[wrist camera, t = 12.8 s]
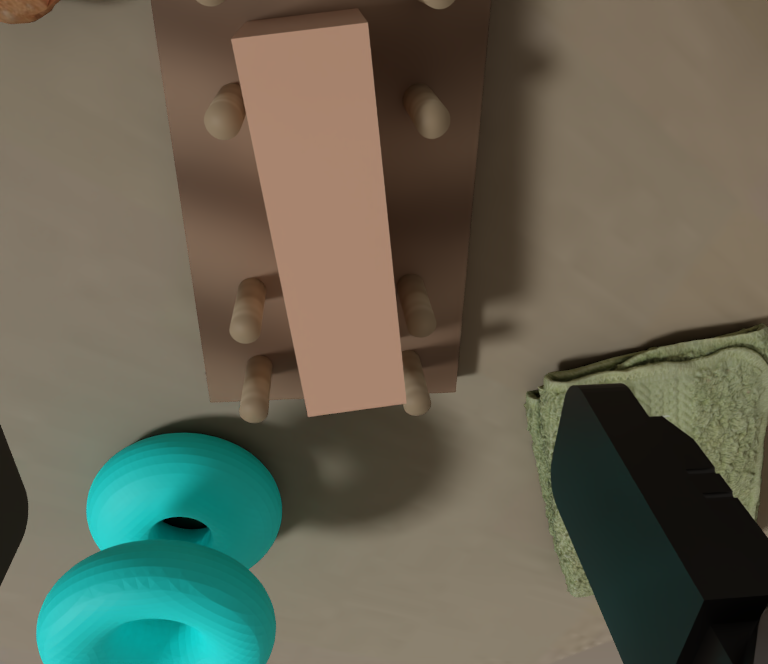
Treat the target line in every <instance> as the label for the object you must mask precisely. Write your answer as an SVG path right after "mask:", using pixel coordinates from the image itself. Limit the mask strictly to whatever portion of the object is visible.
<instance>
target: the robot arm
mask: <svg viewBox="0 0 768 664" xmlns="http://www.w3.org/2000/svg"><path fill="white" fill-rule="evenodd" d="M551 487H552V492H553V497H554V500H555V503H556V506H557V509H558V511H559V513H560V516H561V518H562V520H563V523H564V525H565V527H566V530H567V532H568V534H569V537H570V539H571V541H572V544H573V546H574V549H575V551H576V553H577V556H578V558H579V560H580V563H581V565H582V567H583V570H584V572H585V574H586V577H587V579H588V581H589V584H590V586H591V588H592V591H593V593H594V595H595V598H596V600H597V603H598V605H599V607H600V610H601V612H602V614H603V617H604V619H605V621H606V624H607V626H608V628H609V631H610V633H611V635H612V638H613V640H614V642H615V645H616V647H617V649H618V651H619V654H620V657H621V659H622V661H623V663H624V664H768V538H767V536H766V535H765V534H764V532H763V531H762V530H761V528H760V527H759V526H758V524H757V523H756V522H755V520H754V519H753V518H752V516H751V515H750V514H749V512H748V511H747V510H746V508H745V507H744V506H743V504H742V503H741V502H740V500H739V499H738V498H734V497H733V491H732V490H731V488H730V487H729V486H728V484H727V483H726V482H725V480H724V479H723V478H722V476H721V475H720V473H716V472H715V467H714V465H713V464H712V463H711V461H710V460H709V459H708V457H707V456H706V455H705V453H704V452H703V451H702V449H701V448H700V447H699V445H698V444H697V443H696V441H695V440H694V439H693V438H691V437H690V436H689V435H687V434H686V433H685V432H683V431H682V430H681V429H679V428H678V427H677V426H675V425H674V424H672V423H671V422H670V421H668V420H667V419H666V418H664V417H663V416H651V417H649V416H648V414H647V413H646V411H645V410H644V409H643V407H642V406H641V404H640V403H639V401H638V400H637V398H636V397H635V396H634V394H633V393H632V391H631V390H630V389H629V387H628V386H626V385H625V384H623V383H610V384H589V385H572V386H570V387H569V388H568V390H567V392H566V394H565V398H564V402H563V407H562V412H561V417H560V422H559V427H558V432H557V436H556V441H555V446H554V451H553V456H552V461H551ZM27 519H28V499H27V494H26V490H25V488H24V485H23V482H22V480H21V477H20V475H19V472H18V469H17V467H16V464H15V462H14V459H13V456H12V454H11V451H10V449H9V446H8V443H7V441H6V438H5V436H4V433H3V430H2V428H1V425H0V585H1V583H2V581H3V579H4V577H5V575H6V573H7V571H8V568H9V566H10V564H11V562H12V560H13V558H14V556H15V553H16V551H17V549H18V547H19V545H20V543H21V541H22V538H23V536H24V533H25V529H26V525H27Z"/></svg>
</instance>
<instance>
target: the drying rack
mask: <svg viewBox="0 0 768 664" xmlns="http://www.w3.org/2000/svg"><path fill="white" fill-rule="evenodd" d="M151 5H152V12H153V19H154V26H155V32H156V39H157V46H158V53H159V59H160V66H161V73H162V80H163V86H164V93H165V100H166V107H167V113H168V120H169V127H170V134H171V140H172V147H173V154H174V161H175V167H176V174H177V181H178V188H179V194H180V201H181V208H182V215H183V221H184V228H185V235H186V242H187V248H188V255H189V262H190V269H191V275H192V282H193V289H194V296H195V302H196V309H197V316H198V323H199V329H200V336H201V343H202V349H203V356H204V363H205V370H206V376H207V383H208V390H209V397H210V402H234V401H241V403H240V409H239V413H240V416H241V417H242V419H244V420H245V421H247V422H250V423H258V422H261V421H263V420H264V419H265V418H266V417H267V415H268V408H269V400H282V399H304V395H303V390H302V385H301V380H300V375H299V370H298V365H297V360H296V355H295V351H294V346H293V341H292V336H291V331H290V326H289V321H288V316H287V311H286V306H285V302H284V297H283V292H282V287H281V282H280V277H279V272H278V267H277V262H276V257H275V253H274V248H273V243H272V238H271V233H270V228H269V223H268V218H267V213H266V208H265V204H264V199H263V194H262V189H261V184H260V179H259V174H258V169H257V164H256V159H255V154H254V150H253V145H252V140H251V135H250V130H249V125H248V120H247V115H246V110H245V105H244V101H243V96H242V91H241V86H240V81H239V76H238V71H237V66H236V61H235V56H234V52H233V47H232V42H231V38H232V37H233V36H234V35H235V34H236V33H237V31H238V30H239V29H240V28H241V27H242V26H243V24H244V23H245V22H246V21H254V20H263V19H271V18H280V17H288V16H296V15H305V14H313V13H321V12H330V11H338V10H346V9H355V8H358V9H359V11H360V12H361V13H362V15H363V16H364V18H365V19H366V21H367V22H368V28H369V38H370V48H371V58H372V68H373V77H374V87H375V97H376V107H377V117H378V127H379V136H380V146H381V156H382V166H383V176H384V185H385V195H386V205H387V215H388V225H389V235H390V244H391V254H392V264H393V274H394V284H395V293H396V303H397V313H398V323H399V333H400V343H401V352H402V362H403V372H404V382H405V392H406V401H407V403H406V404H403V406H404V410H405V411H406V412H407V413H408V414H410V415H413V416H419V415H422V414H424V413H426V412H427V411H428V410H429V409H430V407H431V400H430V396H429V393H449V392H456V382H457V371H458V360H459V349H460V338H461V327H462V316H463V305H464V294H465V283H466V272H467V261H468V250H469V239H470V228H471V217H472V206H473V195H474V184H475V173H476V162H477V151H478V140H479V129H480V118H481V107H482V96H483V85H484V74H485V64H486V53H487V42H488V31H489V20H490V9H491V0H151Z"/></svg>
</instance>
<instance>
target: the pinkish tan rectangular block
mask: <svg viewBox="0 0 768 664" xmlns="http://www.w3.org/2000/svg"><path fill="white" fill-rule="evenodd" d="M231 42H232V47H233V52H234V56H235V61H236V66H237V71H238V76H239V81H240V86H241V91H242V96H243V101H244V105H245V110H246V115H247V120H248V125H249V130H250V135H251V140H252V145H253V150H254V154H255V159H256V164H257V169H258V174H259V179H260V184H261V189H262V194H263V199H264V204H265V208H266V213H267V218H268V223H269V228H270V233H271V238H272V243H273V248H274V253H275V257H276V262H277V267H278V272H279V277H280V282H281V287H282V292H283V297H284V302H285V306H286V311H287V316H288V321H289V326H290V331H291V336H292V341H293V346H294V351H295V355H296V360H297V365H298V370H299V375H300V380H301V385H302V390H303V395H304V400H305V404H306V409H307V414H308V417H312V416H319V415H326V414H333V413H341V412H348V411H355V410H362V409H370V408H377V407H384V406H392V405H399V404H406V403H407V401H406V392H405V382H404V372H403V362H402V352H401V343H400V333H399V323H398V313H397V303H396V293H395V284H394V274H393V264H392V254H391V244H390V235H389V225H388V215H387V205H386V195H385V185H384V176H383V166H382V156H381V146H380V136H379V127H378V117H377V107H376V97H375V87H374V77H373V68H372V58H371V48H370V38H369V28H368V22H367V21H366V19H365V18H364V16H363V15H362V13H361V12H360V11H359V9H358V8H355V9H346V10H338V11H330V12H321V13H313V14H305V15H296V16H288V17H280V18H271V19H263V20H254V21H246V22H245V23H244V24H243V26H242V27H241V28H240V29H239V30H238V31H237V33H236V34H235V35H234V36H233V37H232V38H231Z"/></svg>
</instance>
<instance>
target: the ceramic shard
mask: <svg viewBox="0 0 768 664" xmlns="http://www.w3.org/2000/svg"><path fill="white" fill-rule="evenodd" d="M59 1H60V0H0V22H4V23H8V24H18V23H30V22H34V21H36V20H38V19H39V18H41V17H43V16H44V15H46V14H47V13H49V12H50V11H52V9H53V7H54V6H55V4H56V3H58V2H59Z"/></svg>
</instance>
